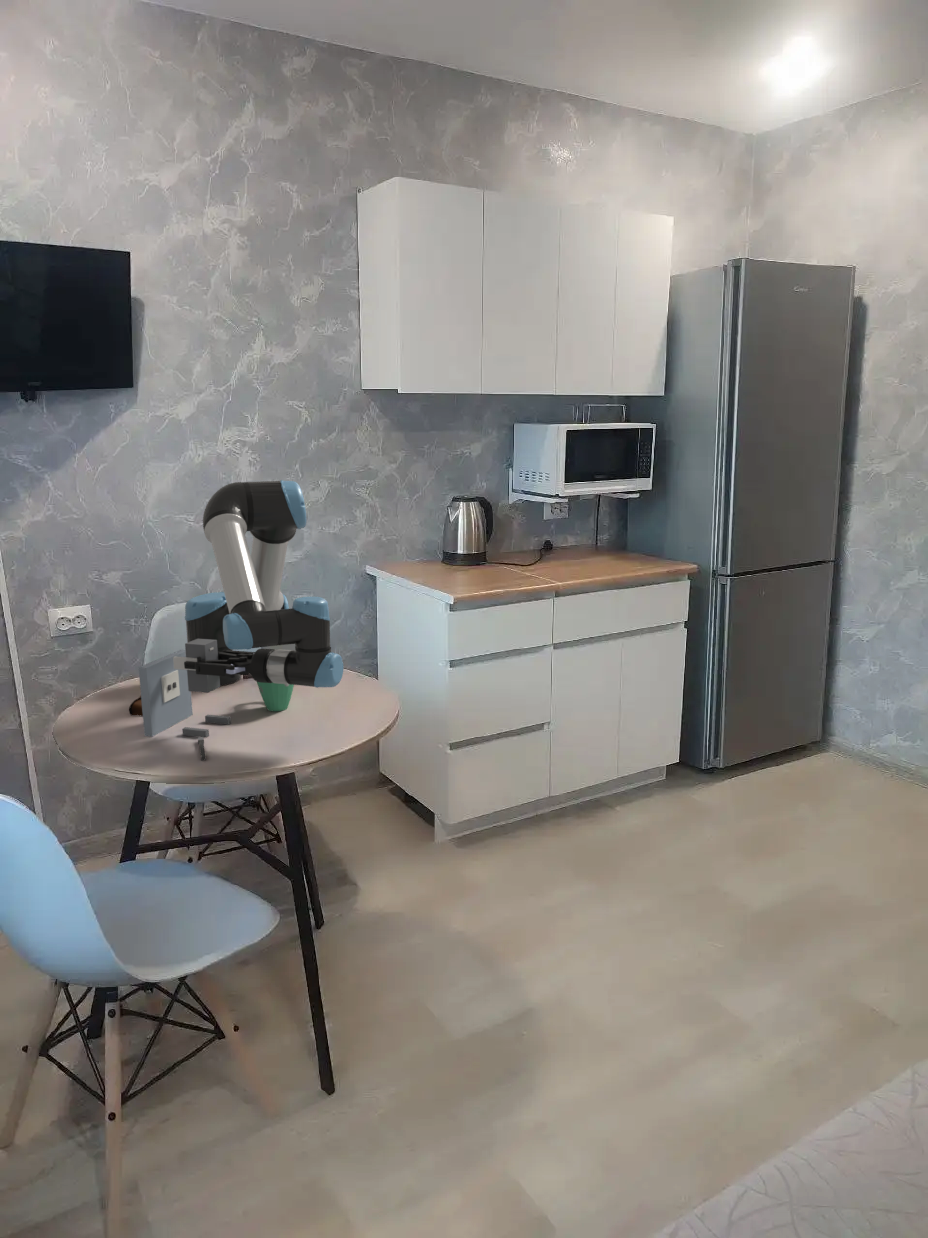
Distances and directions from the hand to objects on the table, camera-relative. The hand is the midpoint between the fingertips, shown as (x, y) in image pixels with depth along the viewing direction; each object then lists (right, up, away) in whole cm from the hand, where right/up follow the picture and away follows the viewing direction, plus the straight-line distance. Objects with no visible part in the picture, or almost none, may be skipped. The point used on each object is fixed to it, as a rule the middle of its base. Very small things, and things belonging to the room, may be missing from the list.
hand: (182, 659), depth 206 cm
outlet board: (+1, -16, +3) cm, 16 cm away
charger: (+5, -7, 0) cm, 8 cm away
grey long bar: (+8, -19, -12) cm, 24 cm away
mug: (+18, -12, +19) cm, 29 cm away
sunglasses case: (-12, -13, +21) cm, 27 cm away
